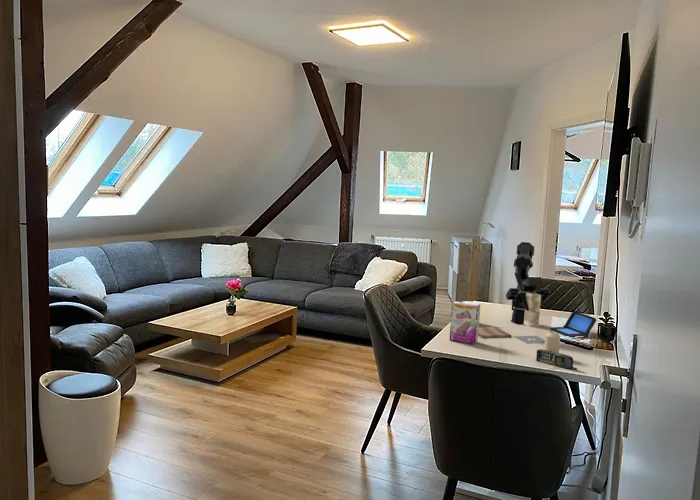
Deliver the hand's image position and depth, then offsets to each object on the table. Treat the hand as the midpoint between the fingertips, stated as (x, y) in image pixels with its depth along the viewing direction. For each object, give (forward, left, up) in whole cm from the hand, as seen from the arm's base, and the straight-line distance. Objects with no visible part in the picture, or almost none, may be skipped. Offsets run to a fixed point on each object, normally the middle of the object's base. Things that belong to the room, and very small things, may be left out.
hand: (533, 310), depth 232 cm
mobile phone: (+10, +33, -14) cm, 37 cm away
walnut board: (+14, -12, -13) cm, 23 cm away
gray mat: (-1, 0, -13) cm, 13 cm away
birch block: (0, -1, -7) cm, 7 cm away
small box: (+14, -31, -14) cm, 37 cm away
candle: (+6, +23, -14) cm, 27 cm away
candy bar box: (+32, -1, -14) cm, 35 cm away
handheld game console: (-27, -9, -14) cm, 32 cm away
